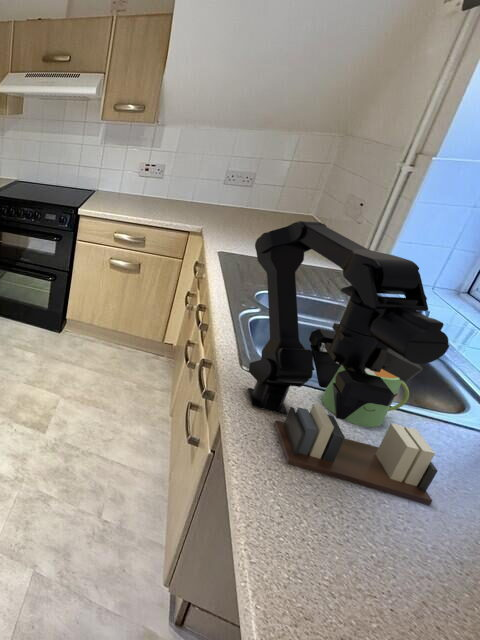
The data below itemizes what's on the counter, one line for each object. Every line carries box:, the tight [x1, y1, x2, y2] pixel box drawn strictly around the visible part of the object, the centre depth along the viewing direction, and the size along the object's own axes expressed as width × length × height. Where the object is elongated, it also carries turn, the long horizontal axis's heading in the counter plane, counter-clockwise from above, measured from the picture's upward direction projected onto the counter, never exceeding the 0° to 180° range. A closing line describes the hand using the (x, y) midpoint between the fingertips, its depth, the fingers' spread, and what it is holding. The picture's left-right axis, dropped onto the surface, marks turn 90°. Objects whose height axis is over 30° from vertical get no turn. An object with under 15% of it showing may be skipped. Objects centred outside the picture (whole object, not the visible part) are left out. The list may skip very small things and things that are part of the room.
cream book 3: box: [403, 426, 436, 486], centre depth 73 cm, size 6×2×8 cm, turn 156°
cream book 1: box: [309, 403, 334, 459], centre depth 78 cm, size 6×2×8 cm, turn 156°
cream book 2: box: [376, 422, 419, 482], centre depth 74 cm, size 6×2×8 cm, turn 156°
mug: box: [321, 365, 410, 428], centre depth 88 cm, size 13×10×12 cm
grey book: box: [295, 407, 317, 455], centre depth 79 cm, size 6×2×6 cm, turn 156°
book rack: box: [273, 406, 439, 506], centre depth 77 cm, size 11×20×6 cm, turn 66°
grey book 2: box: [322, 413, 346, 463], centre depth 78 cm, size 6×2×6 cm, turn 156°
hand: (330, 401), depth 75 cm, fingers open, 9 cm apart
